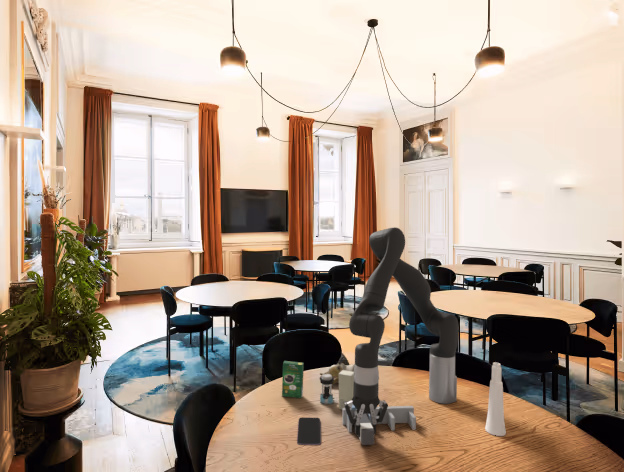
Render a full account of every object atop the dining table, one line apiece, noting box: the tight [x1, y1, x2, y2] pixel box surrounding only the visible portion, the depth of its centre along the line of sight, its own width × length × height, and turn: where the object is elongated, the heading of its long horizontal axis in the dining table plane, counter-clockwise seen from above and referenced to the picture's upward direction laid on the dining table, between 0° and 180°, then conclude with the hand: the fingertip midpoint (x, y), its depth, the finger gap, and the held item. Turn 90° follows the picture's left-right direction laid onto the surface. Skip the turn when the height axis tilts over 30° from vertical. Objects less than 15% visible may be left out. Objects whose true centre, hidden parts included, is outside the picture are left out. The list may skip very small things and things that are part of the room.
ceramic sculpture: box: [319, 362, 355, 385], centre depth 158 cm, size 11×9×15 cm
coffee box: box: [281, 360, 305, 399], centre depth 144 cm, size 8×3×13 cm, turn 79°
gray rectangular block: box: [353, 412, 375, 446], centre depth 116 cm, size 12×4×4 cm, turn 6°
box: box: [338, 370, 354, 410], centre depth 135 cm, size 5×4×13 cm
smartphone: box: [296, 416, 322, 446], centre depth 118 cm, size 7×1×15 cm
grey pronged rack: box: [341, 405, 417, 433], centre depth 122 cm, size 24×6×6 cm, turn 96°
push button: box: [319, 373, 338, 404], centre depth 139 cm, size 7×5×10 cm
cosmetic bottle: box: [484, 361, 507, 437], centre depth 120 cm, size 6×6×22 cm
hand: (365, 435), depth 113 cm, fingers closed on gray rectangular block, 3 cm apart
